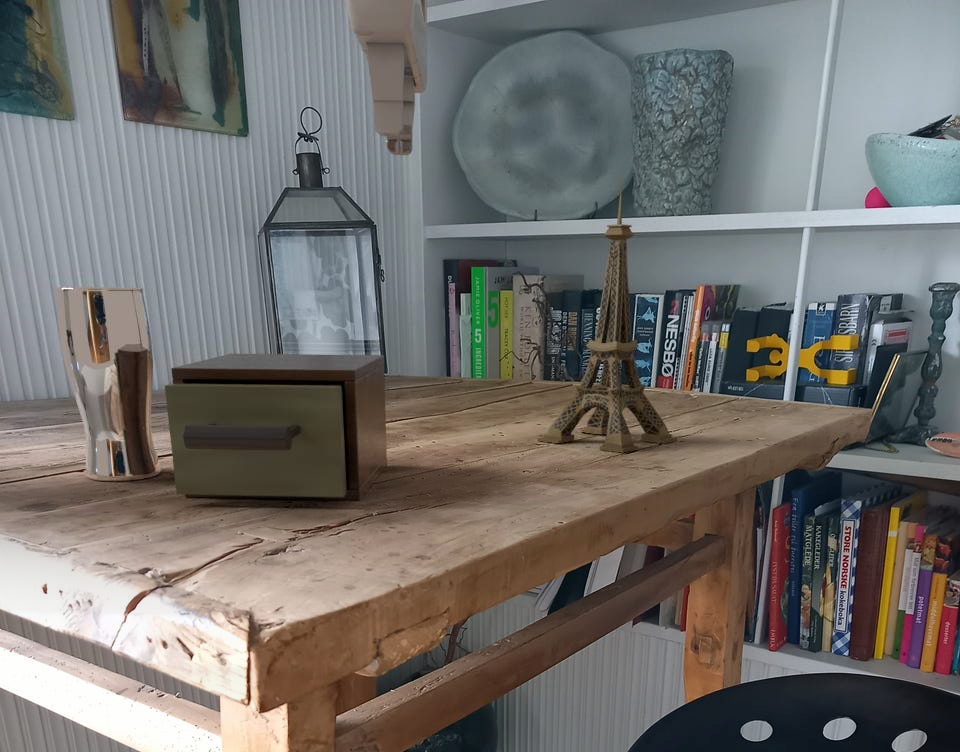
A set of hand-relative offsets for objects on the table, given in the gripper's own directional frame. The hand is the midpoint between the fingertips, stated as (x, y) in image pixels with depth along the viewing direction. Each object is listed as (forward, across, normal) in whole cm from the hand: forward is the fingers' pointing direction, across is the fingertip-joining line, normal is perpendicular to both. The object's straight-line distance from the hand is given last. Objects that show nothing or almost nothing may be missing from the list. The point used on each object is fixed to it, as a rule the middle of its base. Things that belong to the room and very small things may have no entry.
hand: (394, 145), depth 64 cm
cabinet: (+24, -6, -9) cm, 27 cm away
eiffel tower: (+24, -28, +20) cm, 42 cm away
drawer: (+24, 0, -10) cm, 25 cm away
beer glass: (+25, -8, -24) cm, 36 cm away
